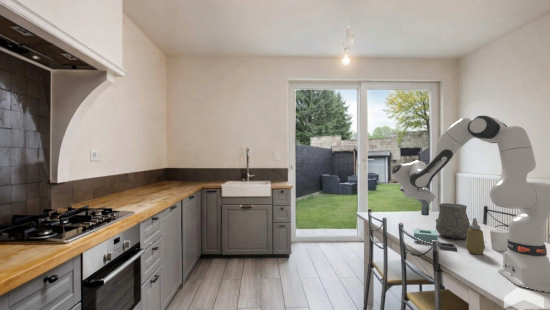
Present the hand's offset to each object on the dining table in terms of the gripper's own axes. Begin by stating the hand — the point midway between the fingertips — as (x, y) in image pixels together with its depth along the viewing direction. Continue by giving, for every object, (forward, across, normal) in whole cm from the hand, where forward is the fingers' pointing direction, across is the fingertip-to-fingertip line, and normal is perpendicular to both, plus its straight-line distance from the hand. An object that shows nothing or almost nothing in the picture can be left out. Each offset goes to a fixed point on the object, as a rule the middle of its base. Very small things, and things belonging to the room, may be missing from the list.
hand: (425, 202), depth 168 cm
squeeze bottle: (+20, -26, +12) cm, 35 cm away
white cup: (+33, -25, -1) cm, 42 cm away
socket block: (+15, 0, +16) cm, 23 cm away
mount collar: (+16, -15, +16) cm, 27 cm away
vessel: (+31, +1, +1) cm, 31 cm away
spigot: (+5, 0, +6) cm, 7 cm away
